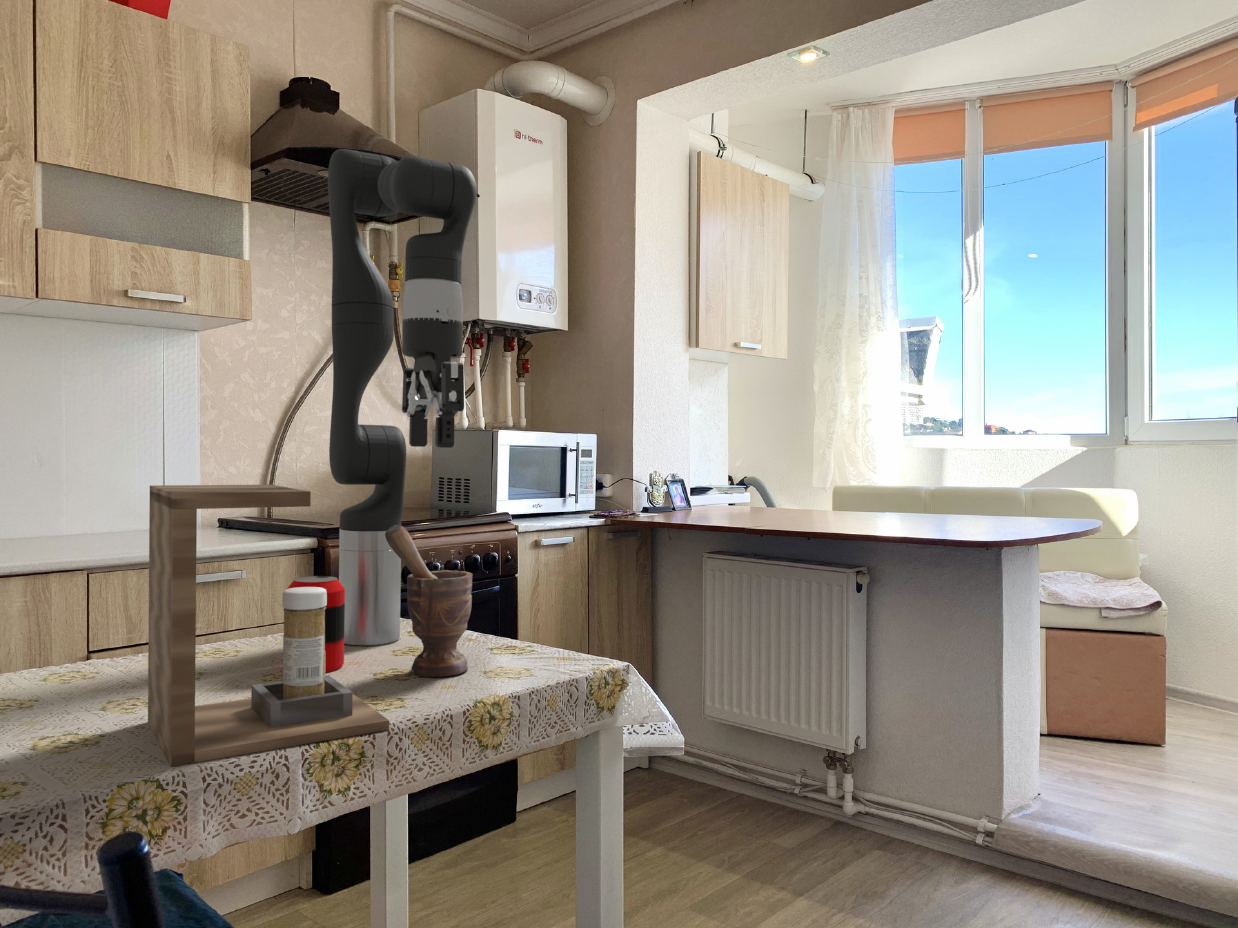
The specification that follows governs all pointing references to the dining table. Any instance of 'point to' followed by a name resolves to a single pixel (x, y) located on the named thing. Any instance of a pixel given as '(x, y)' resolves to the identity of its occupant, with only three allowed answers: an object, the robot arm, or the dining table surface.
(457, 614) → the mortar and pestle
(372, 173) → the robot arm
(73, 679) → the dining table surface
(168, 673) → the overhang stand
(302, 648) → the sprinkles bottle
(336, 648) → the soda can
